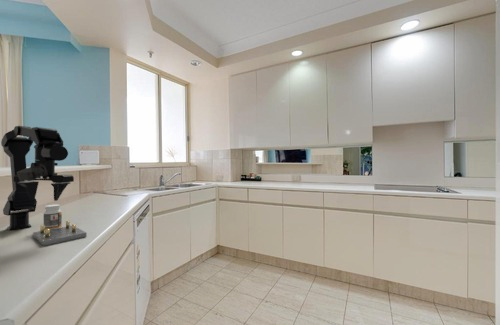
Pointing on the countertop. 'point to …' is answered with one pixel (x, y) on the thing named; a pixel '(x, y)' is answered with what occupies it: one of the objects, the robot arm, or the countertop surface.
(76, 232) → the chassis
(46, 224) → the pill bottle
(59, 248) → the countertop surface
